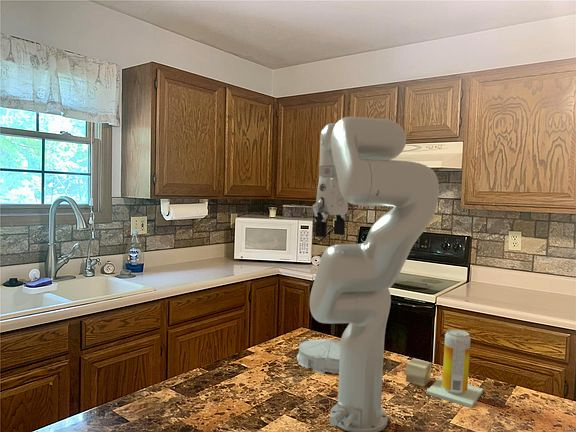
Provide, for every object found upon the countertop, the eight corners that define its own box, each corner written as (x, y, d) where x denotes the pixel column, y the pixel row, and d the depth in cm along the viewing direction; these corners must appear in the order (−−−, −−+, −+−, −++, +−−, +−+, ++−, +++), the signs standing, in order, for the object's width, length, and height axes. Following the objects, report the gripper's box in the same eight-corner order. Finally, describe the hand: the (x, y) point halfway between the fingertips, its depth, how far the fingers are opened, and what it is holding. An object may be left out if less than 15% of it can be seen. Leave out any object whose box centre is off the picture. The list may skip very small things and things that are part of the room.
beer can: (462, 385, 116) (466, 329, 115) (470, 396, 110) (474, 337, 109) (439, 383, 116) (442, 328, 115) (445, 394, 110) (449, 335, 109)
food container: (281, 363, 130) (282, 341, 129) (318, 344, 146) (319, 324, 145) (340, 383, 118) (341, 359, 117) (373, 360, 134) (374, 339, 133)
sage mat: (471, 407, 105) (471, 404, 105) (426, 393, 112) (426, 390, 112) (482, 391, 114) (483, 388, 114) (440, 379, 121) (440, 377, 121)
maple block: (424, 386, 116) (425, 368, 116) (405, 381, 119) (406, 363, 119) (430, 380, 120) (431, 362, 120) (412, 375, 123) (413, 358, 123)
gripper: (327, 172, 112) (325, 238, 113) (359, 175, 126) (356, 234, 127) (303, 172, 117) (301, 236, 118) (336, 175, 130) (334, 232, 131)
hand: (330, 235), depth 122 cm, fingers open, 9 cm apart
